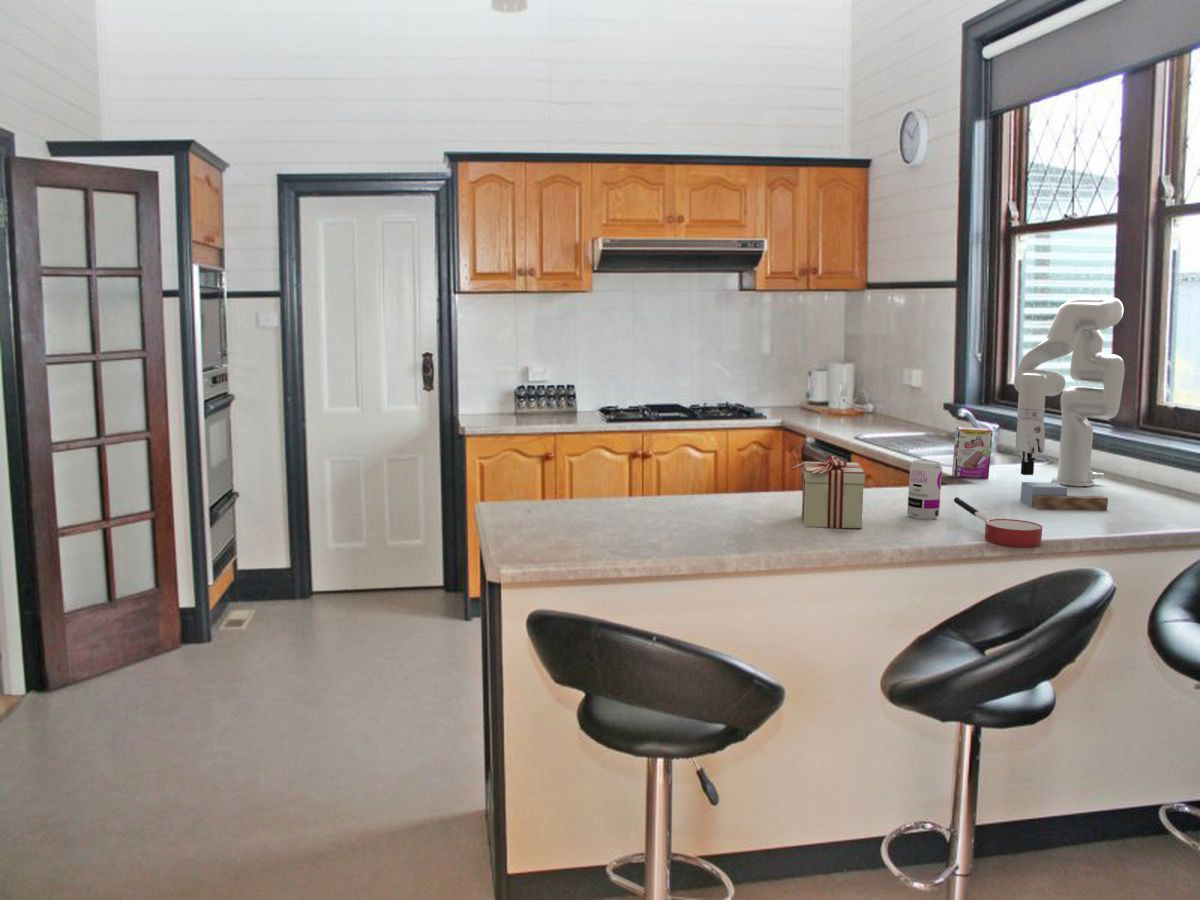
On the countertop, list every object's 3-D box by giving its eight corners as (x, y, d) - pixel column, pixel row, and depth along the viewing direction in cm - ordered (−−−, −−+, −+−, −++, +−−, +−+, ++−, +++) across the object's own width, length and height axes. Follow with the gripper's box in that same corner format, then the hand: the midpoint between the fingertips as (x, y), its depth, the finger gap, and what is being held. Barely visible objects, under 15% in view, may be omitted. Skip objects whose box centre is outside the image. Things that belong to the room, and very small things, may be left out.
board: (1100, 507, 314) (1101, 495, 314) (1106, 510, 311) (1108, 498, 310) (1033, 507, 313) (1033, 495, 313) (1038, 509, 310) (1039, 497, 309)
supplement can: (939, 515, 297) (942, 461, 295) (937, 521, 290) (941, 465, 288) (908, 513, 300) (911, 459, 298) (906, 518, 292) (909, 463, 290)
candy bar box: (954, 477, 362) (958, 428, 359) (951, 475, 366) (954, 426, 364) (989, 479, 360) (993, 430, 358) (985, 476, 365) (989, 428, 363)
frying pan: (926, 522, 289) (927, 498, 288) (967, 519, 293) (968, 496, 292) (1008, 549, 259) (1010, 523, 258) (1053, 546, 263) (1055, 520, 263)
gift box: (785, 515, 293) (788, 451, 290) (854, 517, 292) (858, 453, 290) (794, 529, 276) (798, 461, 274) (868, 531, 276) (872, 463, 273)
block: (1053, 502, 322) (1055, 482, 321) (1065, 508, 314) (1067, 487, 313) (1020, 502, 322) (1021, 482, 321) (1031, 507, 314) (1032, 486, 313)
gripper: (1054, 417, 320) (1050, 479, 323) (1031, 410, 335) (1028, 469, 338) (1029, 418, 319) (1025, 479, 323) (1007, 411, 334) (1004, 470, 337)
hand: (1027, 474), depth 330 cm, fingers closed
